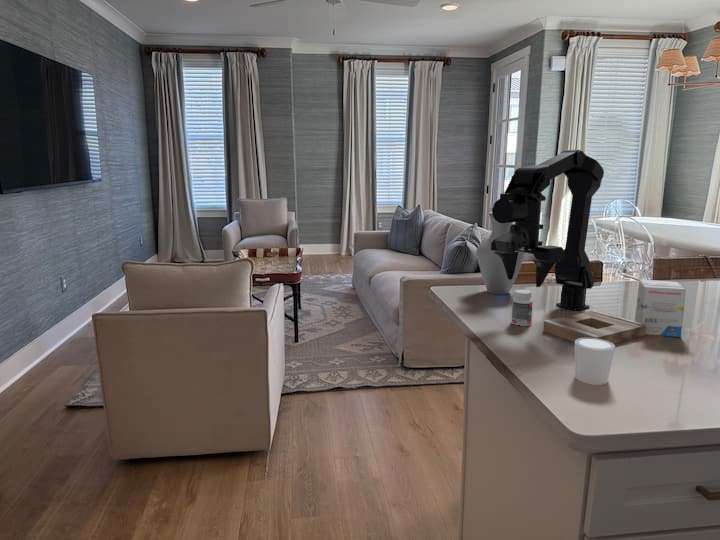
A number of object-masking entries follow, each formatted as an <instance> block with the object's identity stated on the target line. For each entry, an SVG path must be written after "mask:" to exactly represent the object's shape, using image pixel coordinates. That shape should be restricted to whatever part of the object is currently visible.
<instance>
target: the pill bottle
mask: <svg viewBox="0 0 720 540" xmlns="http://www.w3.org/2000/svg"><path fill="white" fill-rule="evenodd" d="M513 295H514V297H513V299H512V307H511V308H512V311H511V324H513V325H514V324H515V326H518V325H520V326H519V327H528V325H529V326H531V325H530V324H532V319H533V317H532V316H533V312H532V311H533V299H532V291H531V290H528V289H515V290H514V294H513Z"/></svg>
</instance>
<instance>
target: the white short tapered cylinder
mask: <svg viewBox="0 0 720 540" xmlns="http://www.w3.org/2000/svg"><path fill="white" fill-rule="evenodd" d="M615 348H616V345H615V344H613V343H611V342H609V341H606V340H602V339H597V338H579V339H576V340H575V342H574V376H575V378H576V380H578V381H579V382H580V383H581V382H582V383H584V384H587V385H591V386H592V385H593V386H601V385H606V384H608V382H609V378H610V372H611V367H612V364H613V363H612V362H613V358H614V353H615Z"/></svg>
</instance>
